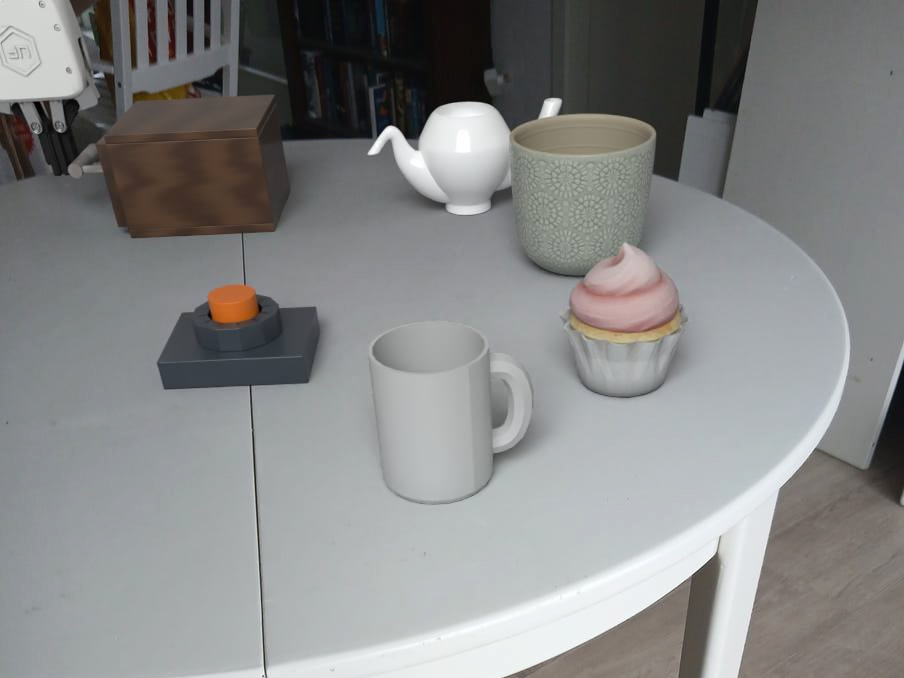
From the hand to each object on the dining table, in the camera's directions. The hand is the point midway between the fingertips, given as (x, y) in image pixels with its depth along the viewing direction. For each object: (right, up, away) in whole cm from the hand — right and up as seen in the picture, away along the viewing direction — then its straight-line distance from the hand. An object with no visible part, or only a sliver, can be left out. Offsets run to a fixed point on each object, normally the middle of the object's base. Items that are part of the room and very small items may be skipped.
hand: (66, 171), depth 101 cm
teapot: (+41, -3, +1) cm, 42 cm away
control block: (+24, -26, -23) cm, 42 cm away
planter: (+52, -14, -11) cm, 55 cm away
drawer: (+11, -3, +2) cm, 11 cm away
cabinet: (+14, -3, +3) cm, 15 cm away
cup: (+41, -38, -37) cm, 67 cm away
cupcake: (+53, -29, -28) cm, 67 cm away
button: (+24, -23, -26) cm, 42 cm away
